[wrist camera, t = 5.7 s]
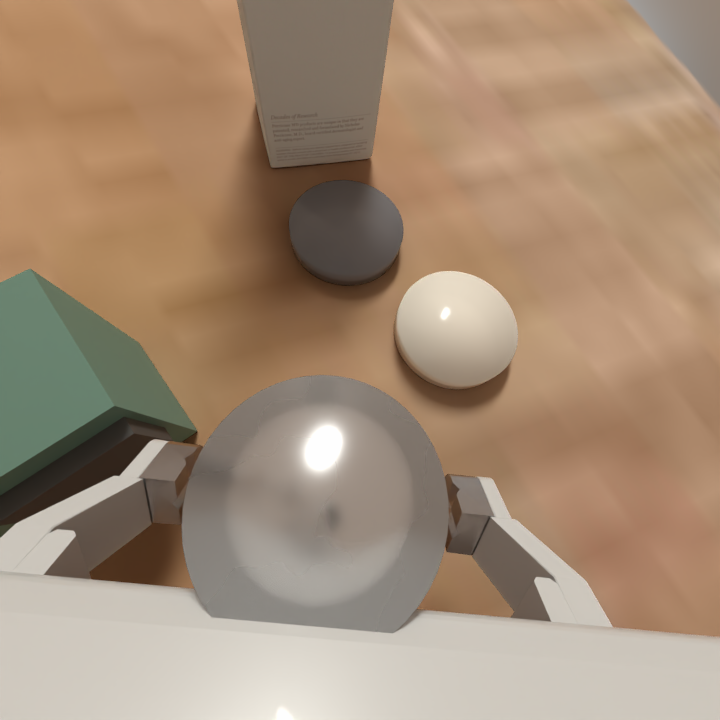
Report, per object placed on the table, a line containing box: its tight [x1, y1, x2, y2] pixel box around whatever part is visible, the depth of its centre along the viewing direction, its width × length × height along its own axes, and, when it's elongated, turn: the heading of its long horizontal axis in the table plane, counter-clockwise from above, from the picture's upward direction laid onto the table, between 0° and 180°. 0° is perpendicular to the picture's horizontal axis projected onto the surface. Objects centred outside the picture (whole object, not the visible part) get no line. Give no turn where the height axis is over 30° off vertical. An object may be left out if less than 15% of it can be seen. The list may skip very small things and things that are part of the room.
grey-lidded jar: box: [182, 375, 449, 633], centre depth 12 cm, size 5×5×11 cm
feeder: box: [0, 269, 197, 538], centre depth 13 cm, size 7×7×7 cm
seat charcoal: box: [289, 180, 403, 285], centre depth 21 cm, size 7×7×1 cm
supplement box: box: [237, 0, 394, 168], centre depth 18 cm, size 7×7×13 cm
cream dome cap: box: [394, 271, 518, 390], centre depth 19 cm, size 7×7×1 cm
